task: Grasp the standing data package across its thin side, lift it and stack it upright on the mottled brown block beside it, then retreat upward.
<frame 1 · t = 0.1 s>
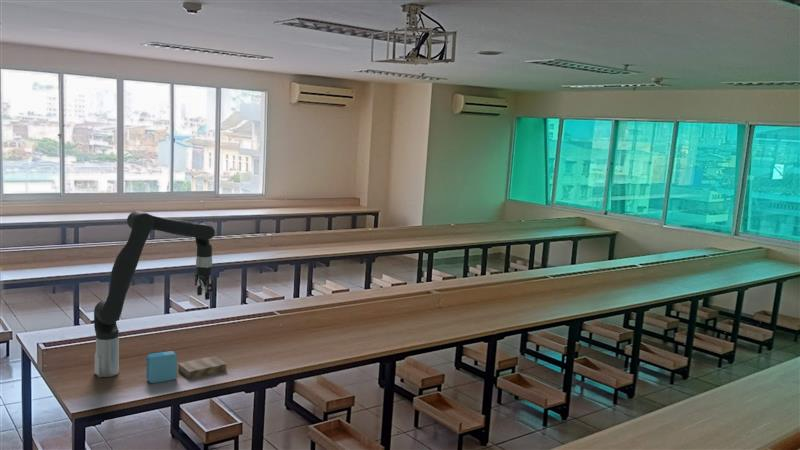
hand: (203, 297, 316), 29 cm above the table, fingers open, 8 cm apart
data package: (161, 380, 288), on the table
mottled brown block: (202, 371, 300), on the table
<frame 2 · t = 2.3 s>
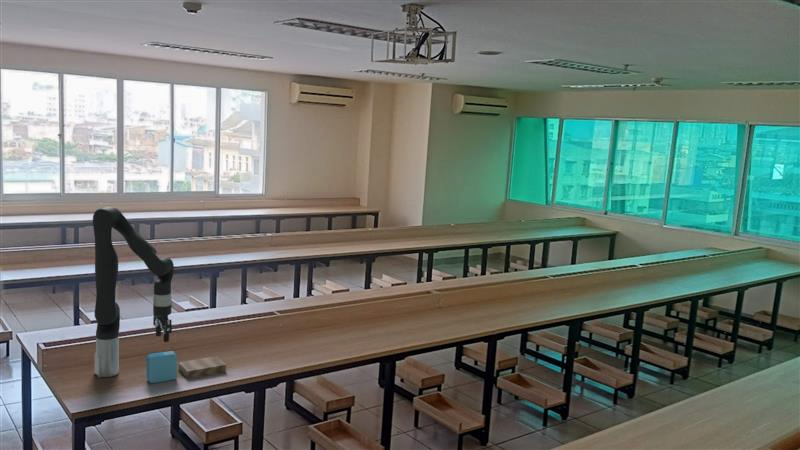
hand: (162, 338, 285), 19 cm above the table, fingers open, 8 cm apart
nothing on the table moved.
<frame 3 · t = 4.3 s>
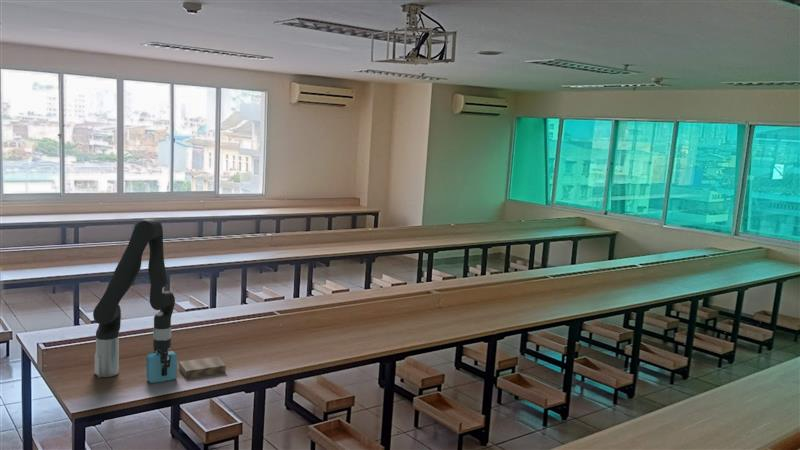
hand: (161, 373, 287), 3 cm above the table, fingers closed on data package, 5 cm apart
data package: (161, 380, 288), on the table, touching gripper
everything else where it was.
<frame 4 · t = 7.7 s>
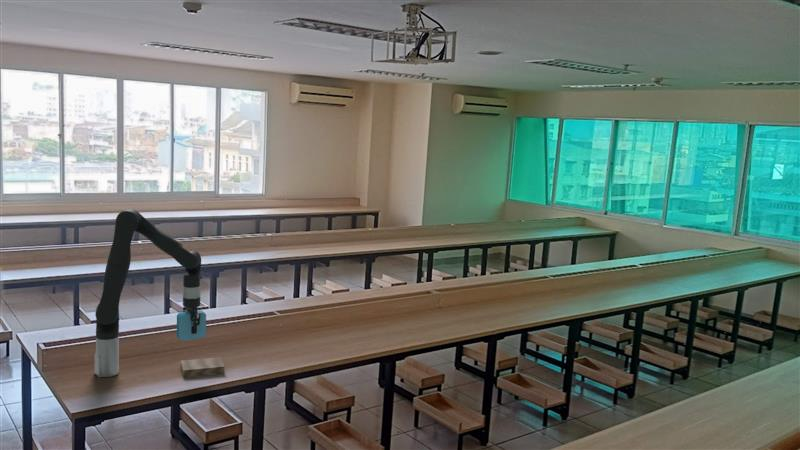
hand: (191, 331, 293), 20 cm above the table, fingers closed on data package, 5 cm apart
data package: (191, 338, 294), point 17 cm above the table, touching gripper
when the fingers open (9 cm above the table, at t = 11.1 s): data package drops 2 cm, resting on mottled brown block.
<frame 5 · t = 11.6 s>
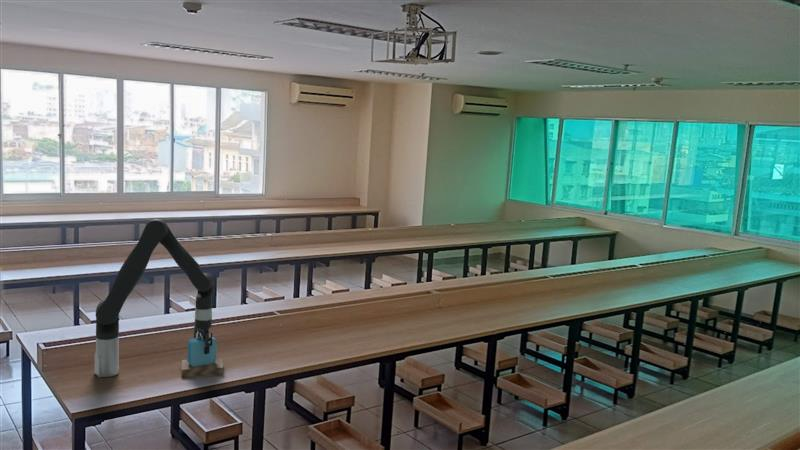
hand: (202, 351, 299), 10 cm above the table, fingers open, 8 cm apart
data package: (202, 364, 300), point 3 cm above the table, touching mottled brown block
mottled brown block: (202, 371, 300), on the table, touching data package
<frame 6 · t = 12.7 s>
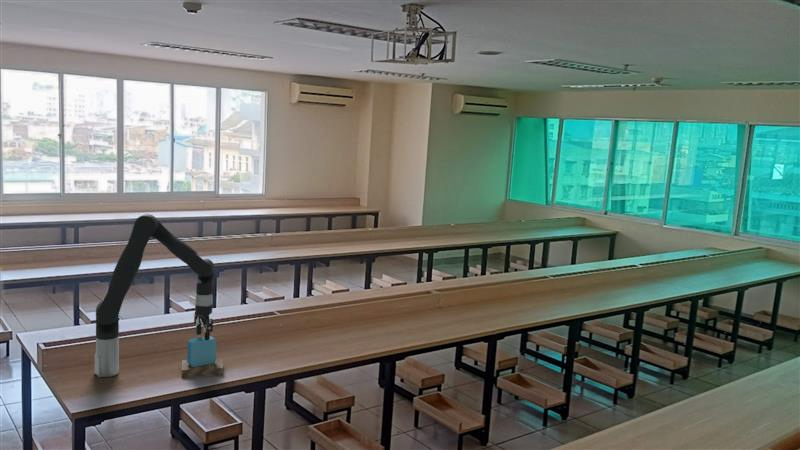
hand: (202, 337, 298), 16 cm above the table, fingers open, 8 cm apart
data package: (201, 364, 300), point 3 cm above the table
mottled brown block: (202, 372, 300), on the table
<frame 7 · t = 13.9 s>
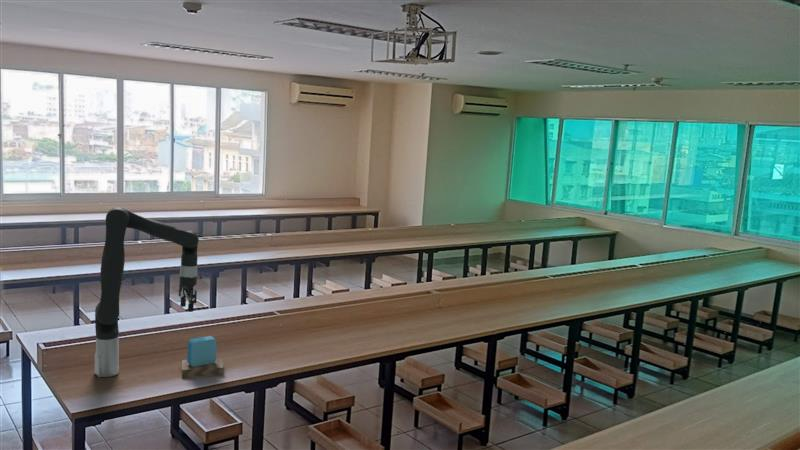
hand: (186, 309, 297), 29 cm above the table, fingers open, 8 cm apart
nothing on the table moved.
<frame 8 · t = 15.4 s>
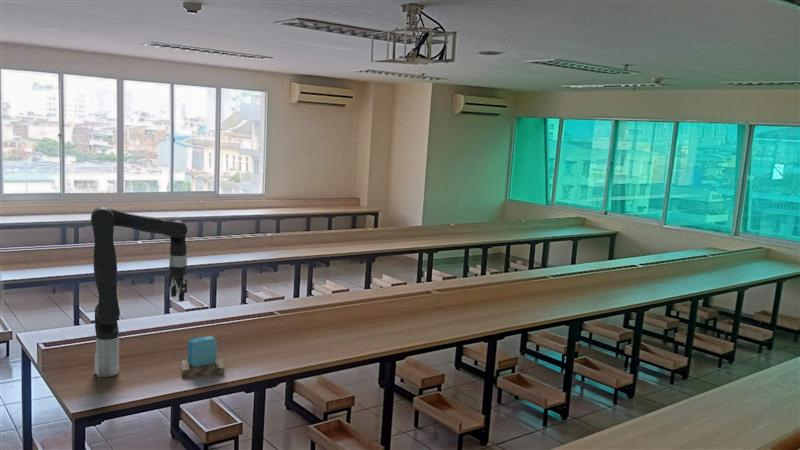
hand: (177, 298, 297), 33 cm above the table, fingers open, 8 cm apart
data package: (202, 364, 300), point 3 cm above the table, touching mottled brown block
mottled brown block: (202, 372, 300), on the table, touching data package
at the end: data package inside the target area on the mottled brown block (0.6 cm from its centre), point 3.8 cm above the mottled brown block's base; data package tilted 0°; data package touching mottled brown block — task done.
